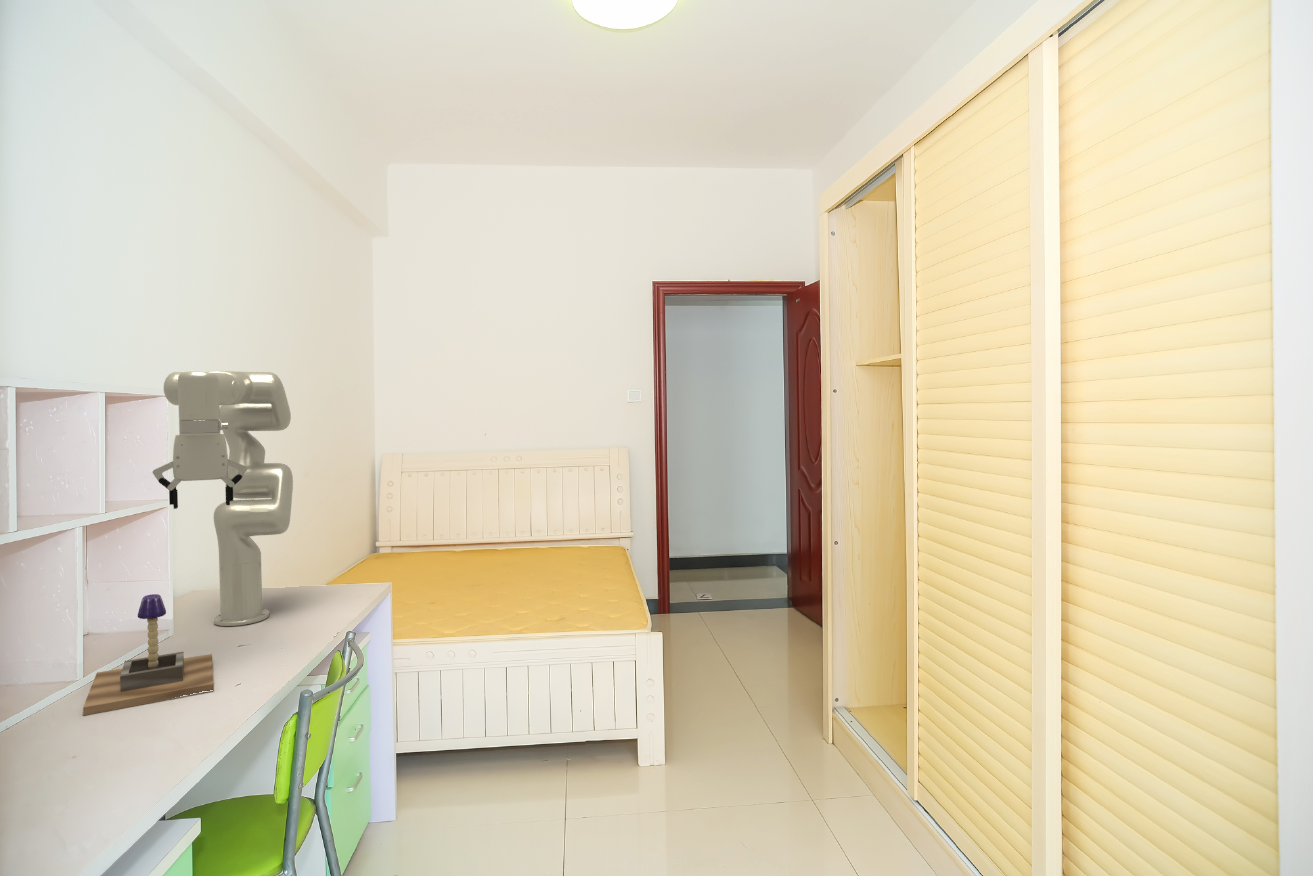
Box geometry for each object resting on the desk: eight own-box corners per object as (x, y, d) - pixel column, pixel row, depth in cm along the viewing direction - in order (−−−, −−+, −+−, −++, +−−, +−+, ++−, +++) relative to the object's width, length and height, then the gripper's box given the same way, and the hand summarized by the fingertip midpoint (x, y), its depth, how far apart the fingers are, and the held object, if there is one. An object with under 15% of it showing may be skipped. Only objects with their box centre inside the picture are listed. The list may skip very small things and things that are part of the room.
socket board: (97, 679, 144) (96, 658, 144) (212, 660, 155) (211, 640, 155) (83, 715, 127) (82, 691, 127) (213, 691, 138) (212, 668, 138)
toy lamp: (173, 674, 143) (171, 593, 142) (150, 683, 138) (147, 599, 138) (157, 671, 144) (154, 591, 144) (133, 680, 140) (130, 597, 139)
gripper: (244, 427, 161) (246, 501, 161) (152, 428, 151) (154, 507, 152) (246, 428, 154) (248, 505, 155) (150, 429, 145) (152, 511, 146)
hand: (202, 506), depth 154 cm, fingers open, 9 cm apart
